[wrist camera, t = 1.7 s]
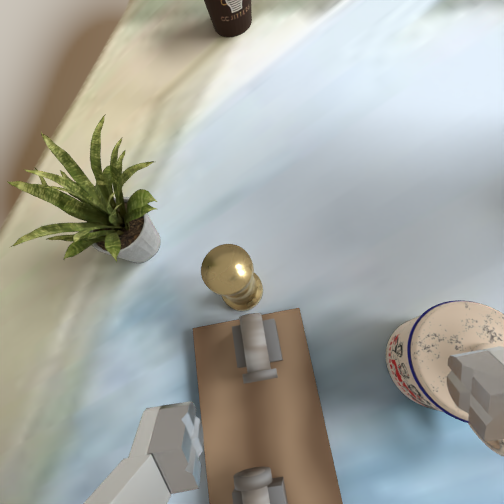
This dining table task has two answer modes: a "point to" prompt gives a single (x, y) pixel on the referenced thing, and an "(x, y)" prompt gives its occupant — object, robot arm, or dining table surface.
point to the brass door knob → (232, 277)
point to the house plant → (97, 206)
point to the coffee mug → (230, 16)
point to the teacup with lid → (441, 352)
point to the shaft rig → (262, 413)
